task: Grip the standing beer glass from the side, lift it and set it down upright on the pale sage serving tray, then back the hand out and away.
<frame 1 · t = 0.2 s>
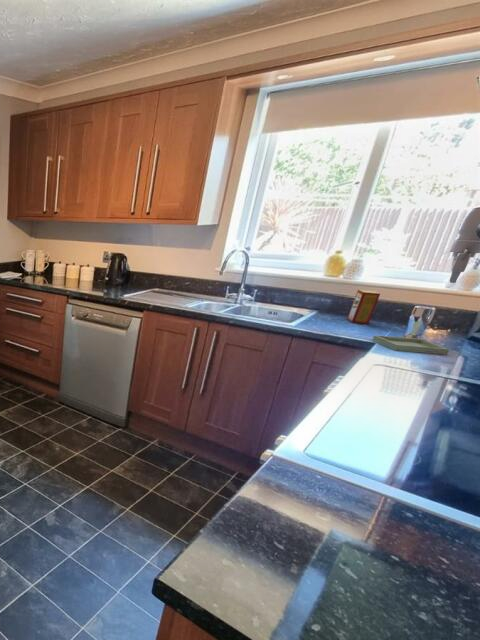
hand: (452, 282, 181), 26 cm above the countertop, tool pointing down, fingers open, 8 cm apart
baking soda box: (357, 321, 223), on the countertop
beer glass: (410, 340, 190), on the countertop
tray: (407, 347, 179), on the countertop
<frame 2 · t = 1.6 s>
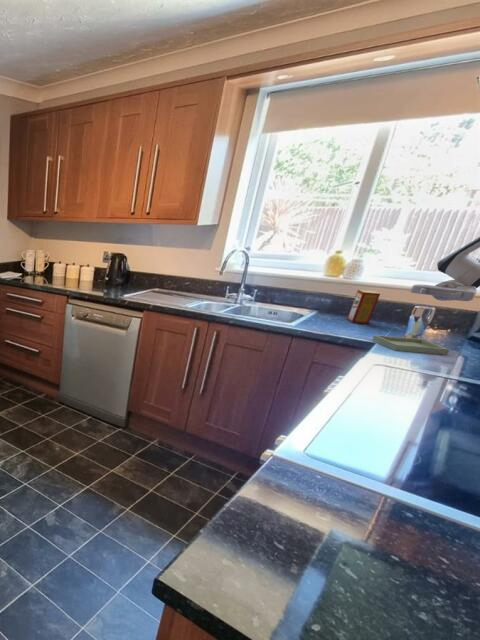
hand: (438, 293, 188), 20 cm above the countertop, tool horizontal, fingers open, 8 cm apart
nothing on the countertop moved.
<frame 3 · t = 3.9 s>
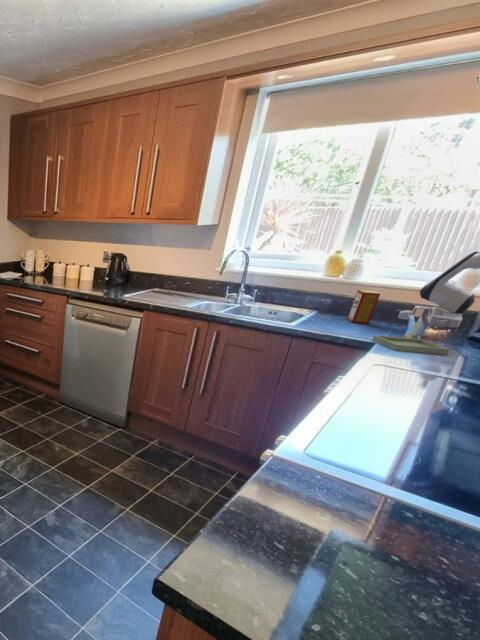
hand: (424, 320, 191), 8 cm above the countertop, tool horizontal, fingers open, 8 cm apart
nothing on the countertop moved.
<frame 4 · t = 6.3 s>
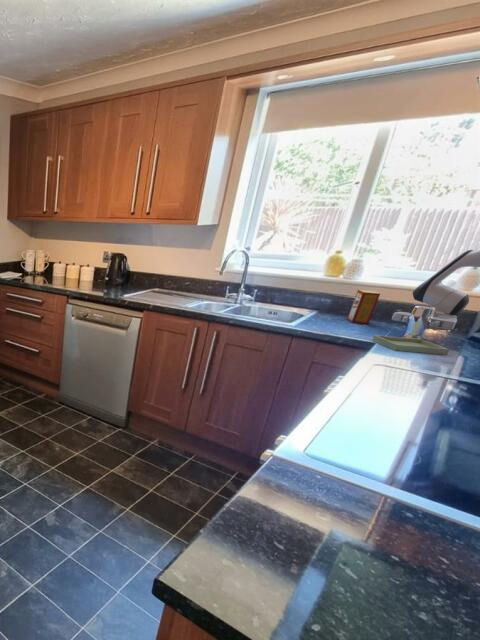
hand: (418, 322, 186), 8 cm above the countertop, tool horizontal, fingers closed on beer glass, 7 cm apart
beer glass: (410, 340, 190), on the countertop, touching gripper
everything else where it was.
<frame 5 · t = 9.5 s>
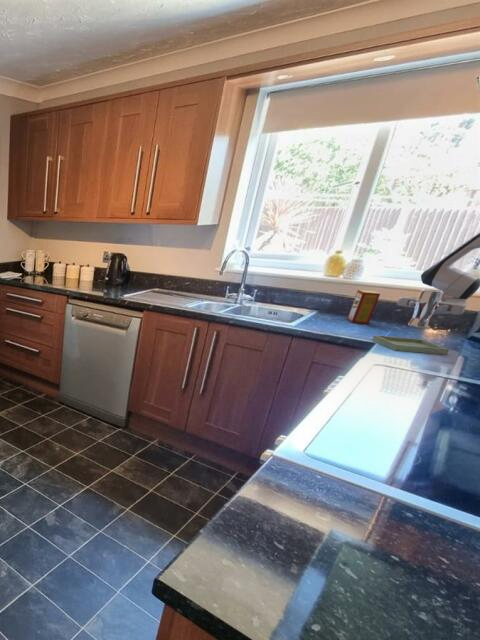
hand: (425, 306, 177), 17 cm above the countertop, tool horizontal, fingers closed on beer glass, 7 cm apart
beer glass: (417, 326, 180), point 8 cm above the countertop, touching gripper
everything else where it was.
when the fingers open (9 cm above the countertop, at t = 13.1 s): beer glass stays where it is, resting on tray.
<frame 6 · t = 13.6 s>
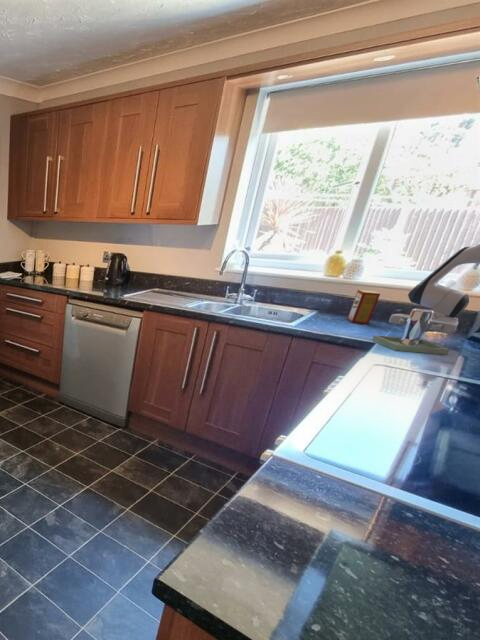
hand: (417, 324, 175), 10 cm above the countertop, tool horizontal, fingers open, 8 cm apart
beer glass: (407, 345, 179), point 1 cm above the countertop, touching tray
everything else where it was.
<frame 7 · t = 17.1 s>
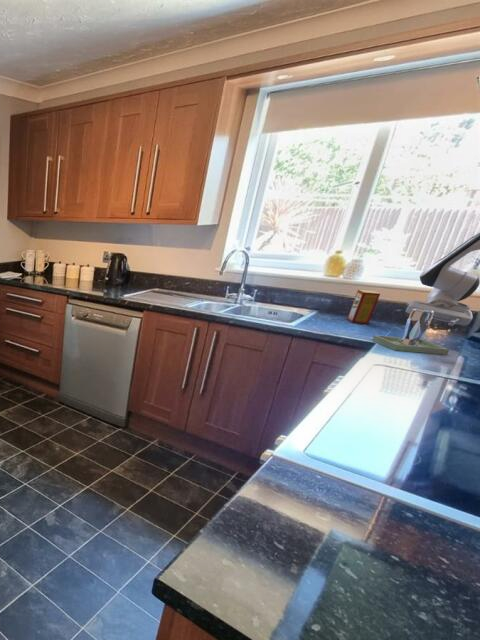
hand: (436, 320, 180), 11 cm above the countertop, tool tilted 75°, fingers open, 8 cm apart
nothing on the countertop moved.
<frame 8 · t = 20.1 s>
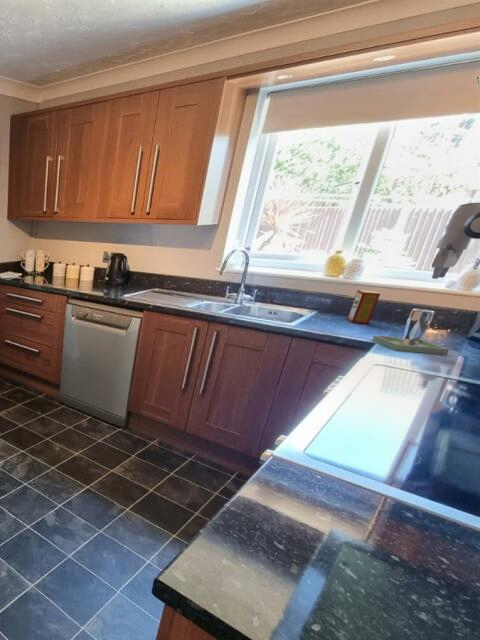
hand: (437, 278, 183), 27 cm above the countertop, tool pointing down, fingers open, 8 cm apart
nothing on the countertop moved.
at the end: beer glass inside the target area in the tray (0.2 cm from its centre), point 0.6 cm above the tray's base; beer glass tilted 0°; the gripper is holding nothing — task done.
